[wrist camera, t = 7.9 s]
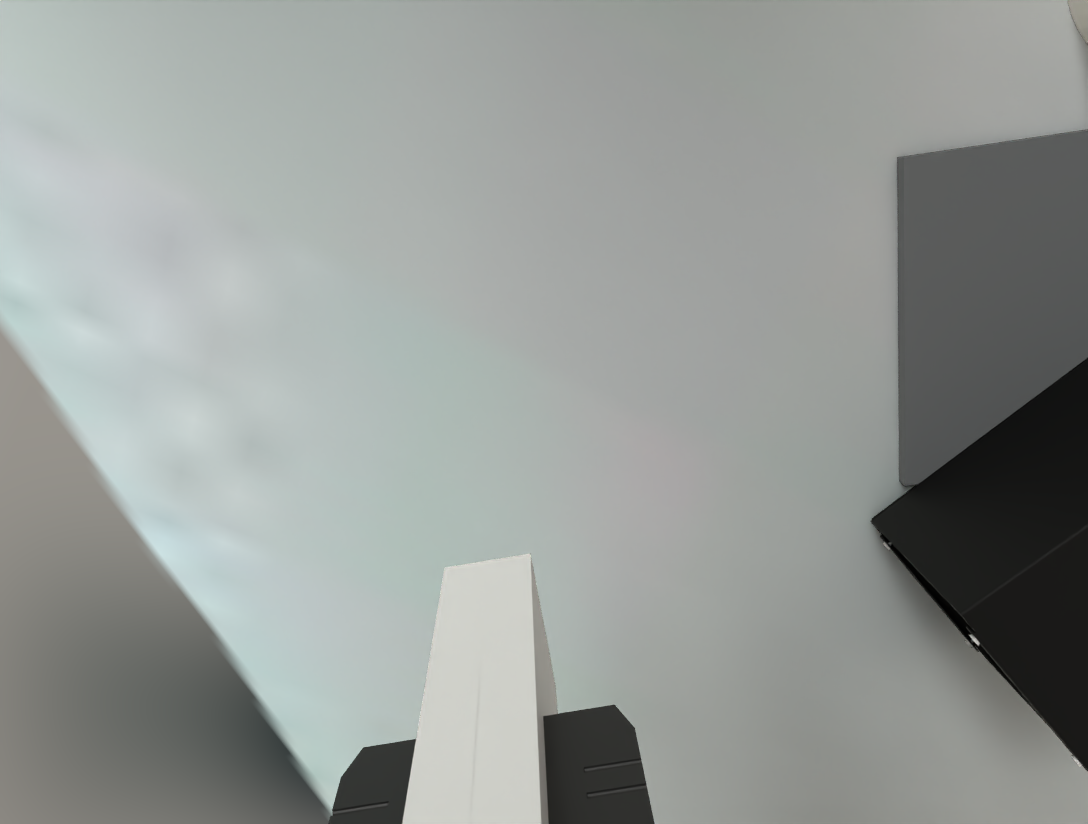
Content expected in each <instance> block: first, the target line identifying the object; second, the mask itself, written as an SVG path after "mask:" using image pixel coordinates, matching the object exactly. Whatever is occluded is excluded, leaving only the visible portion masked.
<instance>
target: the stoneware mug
mask: <svg viewBox="0 0 1088 824" xmlns="http://www.w3.org/2000/svg"><path fill="white" fill-rule="evenodd" d="M1068 5H1069V8H1070V12H1071V15H1072V18H1073V20H1074V23H1075V25H1076V27H1077V29H1078V31H1079V33H1080V34H1081V36H1082V37H1083V39H1084V40H1085V42H1086V43H1087V44H1088V0H1068Z"/></svg>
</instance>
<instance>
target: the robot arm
mask: <svg viewBox="0 0 1088 824" xmlns="http://www.w3.org/2000/svg"><path fill="white" fill-rule="evenodd" d="M332 811H333V816H330V820H329V824H654V819H653V815H652V810H651V805H650V800H649V795H648V790H647V786H646V781H645V776H644V771H643V766H642V762H641V757H640V752H639V747H638V742H637V737H636V732H635V728H634V727H633V726H632V724H631V723H630V722H629V721H628V720H627V719H626V718H625V716H624V715H623V714H622V713H621V712H620V711H619V709H618V708H617V707H616V706H615V705H610V706H604V707H597V708H591V709H585V710H579V711H572V712H566V713H560V714H558V712H557V699H556V686H555V680H554V675H553V670H552V664H551V659H550V654H549V649H548V643H547V638H546V633H545V628H544V622H543V617H542V612H541V606H540V601H539V596H538V591H537V585H536V580H535V575H534V570H533V564H532V559H531V554H524V555H517V556H511V557H505V558H499V559H493V560H487V561H481V562H475V563H469V564H463V565H456V566H450V567H444V573H443V579H442V585H441V591H440V597H439V603H438V609H437V616H436V622H435V628H434V634H433V640H432V646H431V652H430V658H429V664H428V670H427V676H426V682H425V688H424V694H423V700H422V706H421V713H420V719H419V725H418V731H417V737H416V739H414V740H407V741H401V742H395V743H389V744H382V745H376V746H370V747H364V748H363V749H362V750H361V751H360V753H359V754H358V755H357V757H356V758H355V759H354V761H353V762H352V764H351V765H350V766H349V768H348V769H347V770H346V772H345V773H344V774H343V776H342V777H341V780H340V783H339V787H338V791H337V794H336V798H335V802H334V805H333V809H332Z"/></svg>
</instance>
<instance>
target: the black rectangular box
mask: <svg viewBox="0 0 1088 824" xmlns="http://www.w3.org/2000/svg"><path fill="white" fill-rule="evenodd" d="M871 522H872V524H873V525H874V526H875V528H877V530H878V531H879V532H880V533H881V534H882V535H881V536H880V537H881V538H882V539H883V541H884V543H883V544H884V545H885V547H886V548H887V549H888V550H889V551H890V550H892V551H893V552H894V554H895V555H896V556H897V557H898V558H899V560H900V561H901V562H902V563H903V564H904V566H905V567H906V568H907V569H908V570H909V571H910V573H911V574H912V575H913V576H914V577H915V579H916V580H917V581H918V582H919V583H920V584H921V586H922V587H923V588H924V589H925V590H926V592H927V593H928V594H929V595H930V596H931V598H932V599H933V600H934V601H935V602H936V603H937V605H938V606H939V607H940V608H941V609H942V611H943V612H944V613H945V614H946V615H947V617H948V618H949V619H950V620H951V621H952V622H953V624H954V625H955V626H956V627H957V628H958V630H959V631H960V632H961V633H962V634H963V635H964V637H965V638H966V640H965V641H966V643H967V644H968V645H969V646H970V647H971V648H972V647H974V648H975V650H976V651H978V652H979V651H980V652H981V653H982V654H983V655H984V657H985V658H986V659H987V660H988V661H989V662H990V663H991V664H992V665H993V667H994V668H995V669H996V670H997V671H998V672H999V673H1000V674H1001V675H1002V677H1004V678H1005V679H1006V681H1007V682H1008V683H1009V684H1010V685H1011V686H1012V687H1013V688H1014V689H1015V690H1016V691H1017V692H1018V694H1019V695H1020V696H1021V697H1022V698H1023V699H1024V700H1025V701H1026V702H1027V704H1029V705H1030V706H1031V708H1032V709H1033V710H1034V711H1035V712H1036V713H1037V714H1038V715H1039V716H1040V718H1042V719H1043V720H1044V722H1045V723H1046V724H1047V725H1048V726H1049V727H1050V728H1051V729H1052V731H1053V732H1054V733H1055V734H1056V735H1057V736H1058V737H1059V739H1060V740H1061V741H1062V742H1063V743H1064V745H1065V746H1066V747H1067V748H1068V749H1069V751H1070V752H1071V753H1072V754H1073V755H1072V756H1071V757H1072V758H1073V760H1074V761H1075V762H1076V763H1077V764H1078V765H1079V766H1080V767H1081V766H1083V767H1084V768H1085V769H1086V770H1087V771H1088V358H1087V359H1085V360H1084V361H1082V362H1081V363H1080V364H1078V365H1077V366H1076V367H1074V368H1073V369H1072V370H1070V371H1069V372H1068V373H1066V374H1065V375H1064V376H1062V377H1061V378H1060V379H1058V380H1057V381H1056V382H1054V383H1053V384H1052V385H1050V386H1049V387H1048V388H1046V389H1045V390H1044V391H1042V392H1041V393H1040V394H1038V395H1037V396H1036V397H1034V398H1033V399H1032V400H1030V401H1029V402H1027V403H1026V404H1025V405H1023V406H1022V407H1021V408H1019V409H1018V410H1017V411H1015V412H1014V413H1013V414H1011V415H1010V416H1009V417H1007V418H1006V419H1005V420H1003V421H1002V422H1001V423H999V424H998V425H997V426H995V427H994V428H993V429H991V430H990V431H989V432H987V433H986V434H985V435H983V436H982V437H981V438H979V439H978V440H977V441H975V442H974V443H973V444H971V445H970V446H968V447H967V448H966V449H964V450H963V451H962V452H960V453H959V454H958V455H956V456H955V457H954V458H952V459H951V460H950V461H948V462H947V463H946V464H944V465H943V466H942V467H940V468H939V469H938V470H936V471H935V472H934V473H932V474H931V475H930V476H928V477H927V478H926V479H924V480H923V481H922V482H920V483H919V484H918V485H916V486H915V487H913V488H912V489H911V490H909V491H908V492H907V493H905V494H904V495H903V496H901V497H900V498H899V499H897V500H896V501H895V502H893V503H892V504H891V505H889V506H888V507H887V508H885V509H884V510H883V511H881V512H880V513H879V514H877V515H876V516H875V517H873V518H872V521H871ZM975 646H976V647H977V648H978V649H977V648H976V647H975Z"/></svg>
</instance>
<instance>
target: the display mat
mask: <svg viewBox="0 0 1088 824" xmlns="http://www.w3.org/2000/svg"><path fill="white" fill-rule="evenodd" d="M897 164H898V348H899V481H900V482H901V483H902V484H904V485H905V486H908V485H915V484H919V483H920V482H922V481H923V480H924V479H926V478H927V477H928V476H930V475H931V474H932V473H934V472H935V471H936V470H938V469H939V468H940V467H942V466H943V465H944V464H946V463H947V462H948V461H950V460H951V459H952V458H954V457H955V456H956V455H958V454H959V453H960V452H962V451H963V450H964V449H966V448H967V447H968V446H970V445H971V444H973V443H974V442H975V441H977V440H978V439H979V438H981V437H982V436H983V435H985V434H986V433H987V432H989V431H990V430H991V429H993V428H994V427H995V426H997V425H998V424H999V423H1001V422H1002V421H1003V420H1005V419H1006V418H1007V417H1009V416H1010V415H1011V414H1013V413H1014V412H1015V411H1017V410H1018V409H1019V408H1021V407H1022V406H1023V405H1025V404H1026V403H1027V402H1029V401H1030V400H1032V399H1033V398H1034V397H1036V396H1037V395H1038V394H1040V393H1041V392H1042V391H1044V390H1045V389H1046V388H1048V387H1049V386H1050V385H1052V384H1053V383H1054V382H1056V381H1057V380H1058V379H1060V378H1061V377H1062V376H1064V375H1065V374H1066V373H1068V372H1069V371H1070V370H1072V369H1073V368H1074V367H1076V366H1077V365H1078V364H1080V363H1081V362H1082V361H1084V360H1085V359H1087V358H1088V129H1087V130H1080V131H1074V132H1067V133H1060V134H1053V135H1046V136H1040V137H1033V138H1026V139H1019V140H1012V141H1005V142H999V143H992V144H985V145H978V146H971V147H965V148H958V149H951V150H944V151H937V152H931V153H924V154H917V155H910V156H903V157H897Z"/></svg>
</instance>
